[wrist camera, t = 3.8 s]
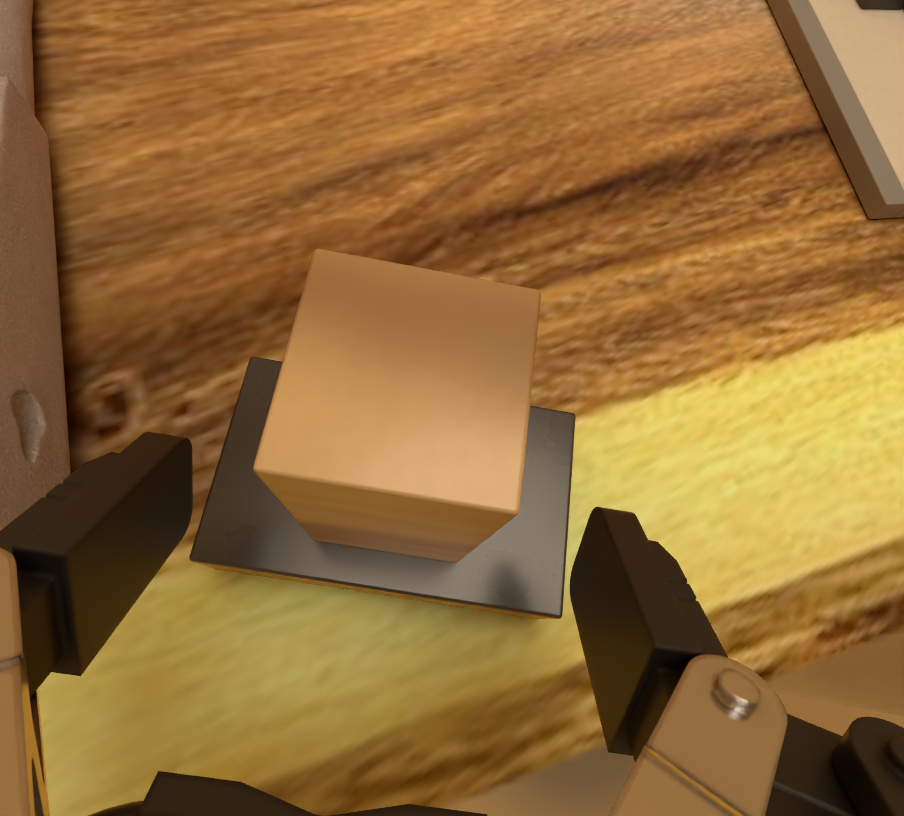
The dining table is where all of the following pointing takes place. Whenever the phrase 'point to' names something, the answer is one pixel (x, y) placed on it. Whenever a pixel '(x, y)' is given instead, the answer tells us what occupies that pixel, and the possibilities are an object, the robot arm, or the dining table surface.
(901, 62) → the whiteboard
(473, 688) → the dining table surface
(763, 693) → the robot arm
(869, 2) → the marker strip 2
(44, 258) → the grey tapered wedge
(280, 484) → the eraser
